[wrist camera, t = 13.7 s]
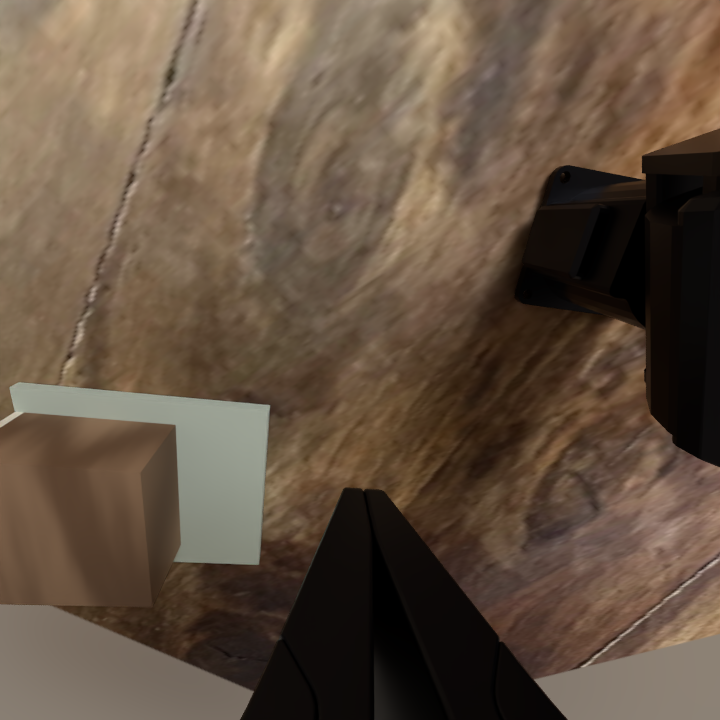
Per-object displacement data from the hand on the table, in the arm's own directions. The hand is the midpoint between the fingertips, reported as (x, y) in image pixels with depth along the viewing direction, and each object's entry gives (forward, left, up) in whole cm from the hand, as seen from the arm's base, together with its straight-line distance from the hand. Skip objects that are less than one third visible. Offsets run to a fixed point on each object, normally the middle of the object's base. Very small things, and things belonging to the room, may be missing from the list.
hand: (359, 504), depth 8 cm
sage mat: (+10, +11, -12) cm, 19 cm away
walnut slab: (+8, +11, -10) cm, 17 cm away
